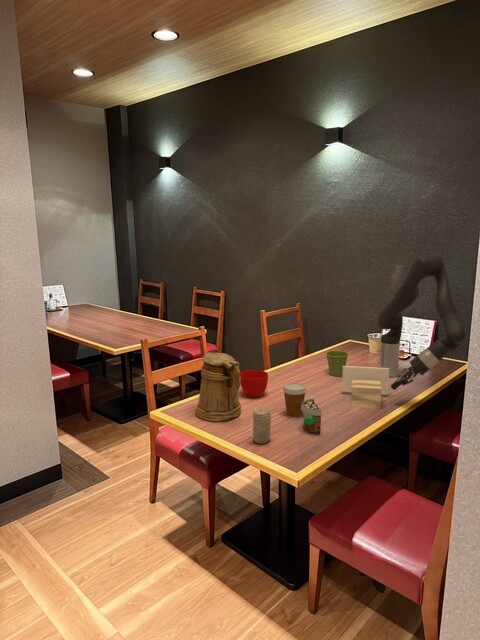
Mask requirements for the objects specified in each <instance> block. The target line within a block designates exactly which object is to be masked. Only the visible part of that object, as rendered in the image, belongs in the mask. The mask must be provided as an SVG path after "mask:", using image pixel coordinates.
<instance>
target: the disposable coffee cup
mask: <svg viewBox="0 0 480 640" xmlns="http://www.w3.org/2000/svg"><path fill="white" fill-rule="evenodd" d="M282 391H283V394H284V402H285V403H284V404H285V409H286V410H285V411H286V415H287V416H288V417H292V418H296V417H301V416H303V411H302V410H301V406H302V403H303V402H304V401H305V398H306V397H305V395H306V392H307V387H306V385H304V384H303V383H301V382H300V383H299V382H289V383H285V384H284V385H283V388H282Z"/></svg>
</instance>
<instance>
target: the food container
mask: <svg viewBox="0 0 480 640" xmlns="http://www.w3.org/2000/svg"><path fill="white" fill-rule="evenodd" d="M301 410H302V416H303V417H302V419H303V429H304V431H305V432H307V433H309V434H313V435H320V434H321V425H322V424H321V423H322V409H320V408H319V407H318V404H316V402H315V398H308V399H304V402H303V403H302V406H301Z"/></svg>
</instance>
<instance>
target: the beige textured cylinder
mask: <svg viewBox="0 0 480 640" xmlns="http://www.w3.org/2000/svg"><path fill="white" fill-rule="evenodd" d="M271 416H272V414H271V411H270V409H269V408H267V407H257V408H255V409H254V410H253V411H252V420H253V421H252V437H253V441H254V443H256V444H260V445H261V444H266V443H268V442H269V441H270V440H271V436H272V435H271V422H272V417H271Z"/></svg>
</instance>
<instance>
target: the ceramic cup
mask: <svg viewBox="0 0 480 640" xmlns="http://www.w3.org/2000/svg"><path fill="white" fill-rule="evenodd" d="M240 375H241V383H240V387H241V389H242V391H243V393H244V394H245V395H246V396H247V397H249V398H253V399H255V398H258V397H259V398H260V397H261V396H262V395H263V394H264V393H265V391H266V389H267V387H268V382H269V381H268V380H269V373H268V372H267V371H265V370H261V369H260V370H259V369H247V370H244V371H242V372H241V371H240Z"/></svg>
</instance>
